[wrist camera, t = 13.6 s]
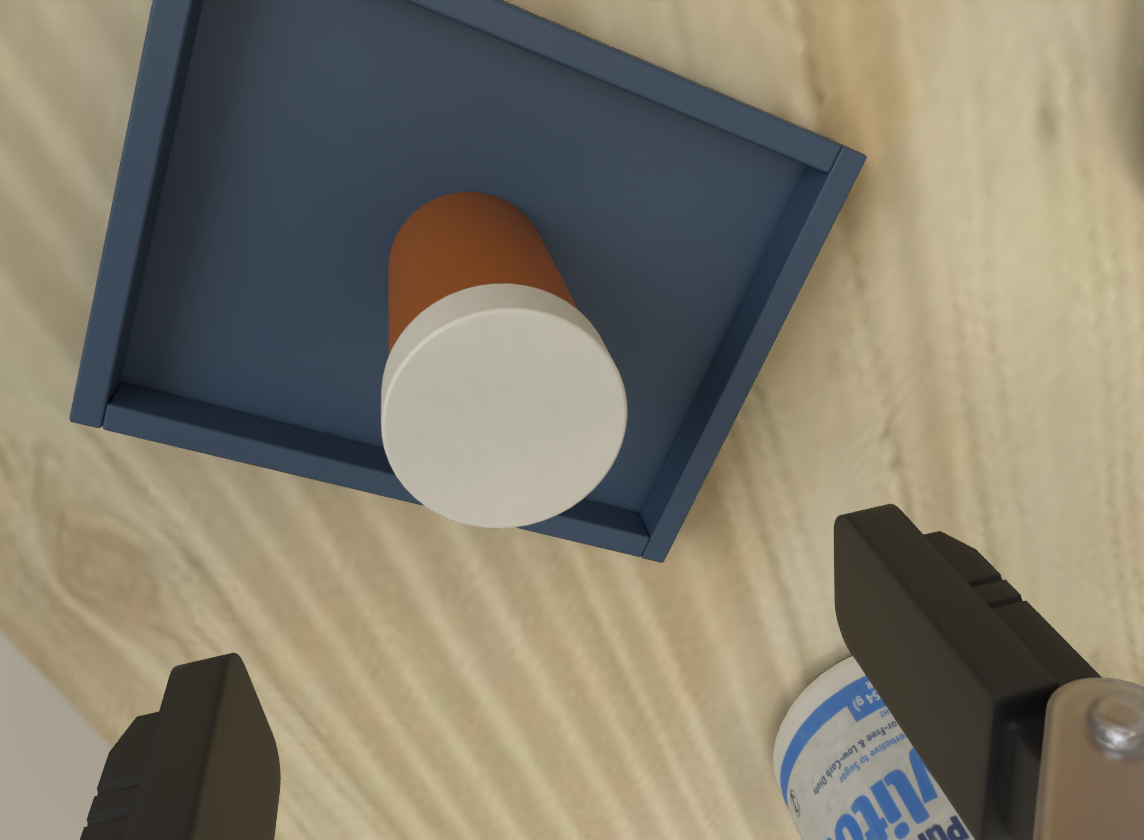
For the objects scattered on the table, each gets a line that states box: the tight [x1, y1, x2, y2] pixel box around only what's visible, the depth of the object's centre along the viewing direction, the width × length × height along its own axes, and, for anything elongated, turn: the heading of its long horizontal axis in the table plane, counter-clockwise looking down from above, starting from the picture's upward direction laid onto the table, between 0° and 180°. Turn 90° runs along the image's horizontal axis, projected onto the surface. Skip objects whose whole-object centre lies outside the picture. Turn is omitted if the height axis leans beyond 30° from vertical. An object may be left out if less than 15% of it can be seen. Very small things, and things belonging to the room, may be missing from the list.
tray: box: [70, 0, 866, 563], centre depth 26 cm, size 18×14×2 cm
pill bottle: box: [381, 192, 627, 529], centre depth 22 cm, size 5×5×10 cm
